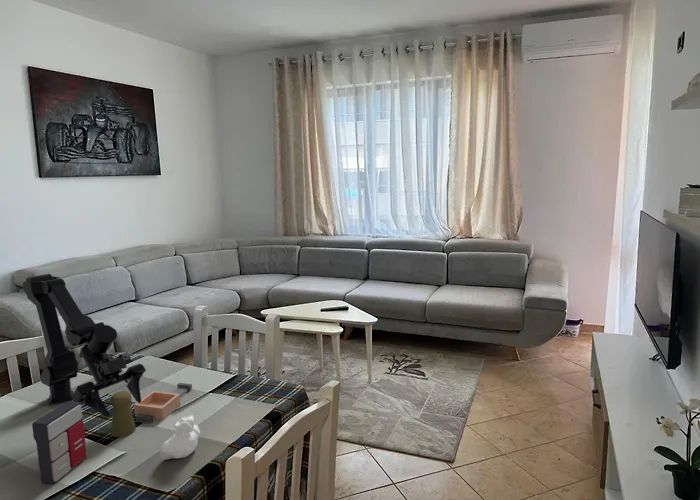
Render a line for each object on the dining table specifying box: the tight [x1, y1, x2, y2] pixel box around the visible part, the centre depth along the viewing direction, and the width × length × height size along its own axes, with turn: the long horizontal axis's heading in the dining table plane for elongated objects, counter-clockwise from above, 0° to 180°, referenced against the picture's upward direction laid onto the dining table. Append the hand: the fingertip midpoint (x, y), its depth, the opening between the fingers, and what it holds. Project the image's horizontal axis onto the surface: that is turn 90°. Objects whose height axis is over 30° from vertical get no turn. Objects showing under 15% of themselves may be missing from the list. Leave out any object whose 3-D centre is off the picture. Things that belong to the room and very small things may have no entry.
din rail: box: [135, 382, 193, 425], centre depth 148 cm, size 4×22×2 cm, turn 167°
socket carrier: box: [133, 390, 181, 421], centre depth 144 cm, size 9×9×4 cm
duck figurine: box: [159, 414, 201, 461], centre depth 122 cm, size 12×8×11 cm
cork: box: [110, 390, 137, 438], centre depth 133 cm, size 6×6×11 cm
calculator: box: [31, 400, 88, 485], centre depth 115 cm, size 11×4×15 cm, turn 168°
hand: (124, 409), depth 132 cm, fingers open, 9 cm apart
